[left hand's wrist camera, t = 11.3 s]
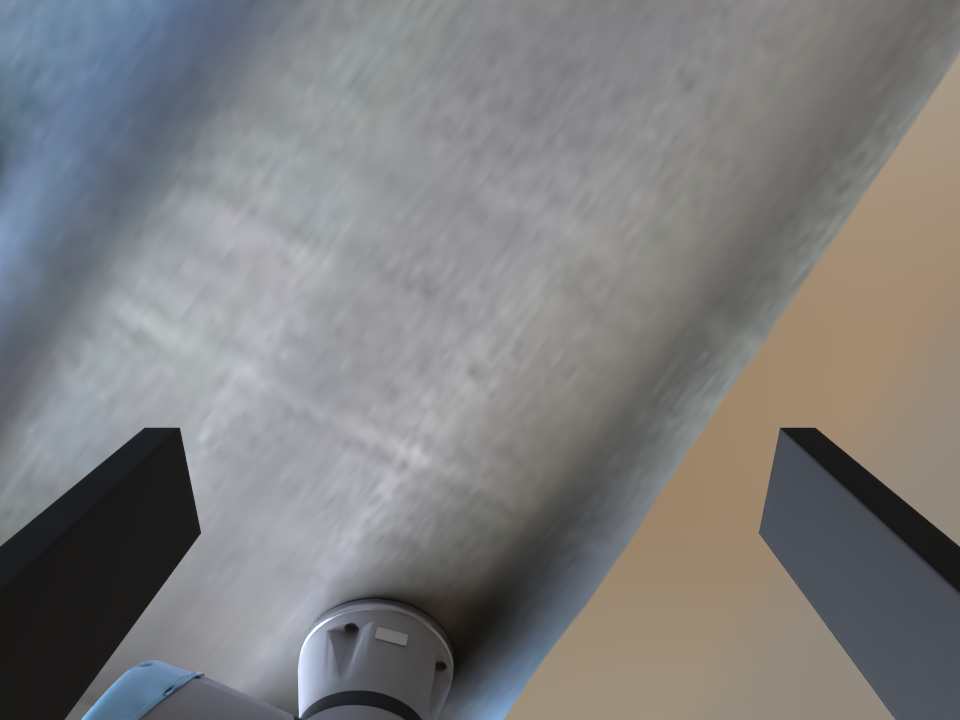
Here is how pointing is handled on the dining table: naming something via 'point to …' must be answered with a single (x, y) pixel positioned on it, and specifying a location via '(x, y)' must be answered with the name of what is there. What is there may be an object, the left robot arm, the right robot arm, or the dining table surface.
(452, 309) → the dining table surface
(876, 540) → the left robot arm
